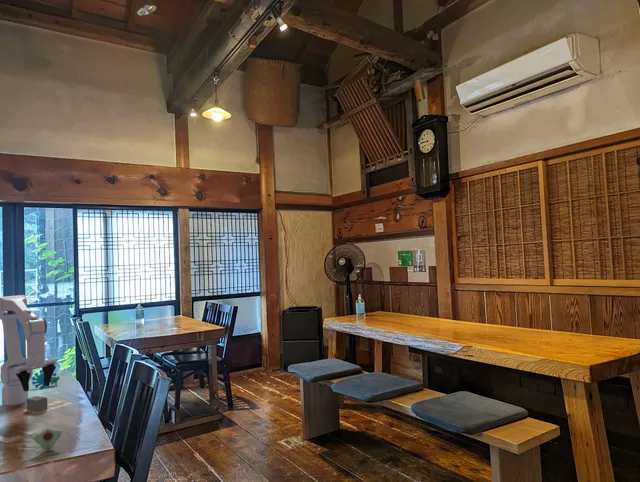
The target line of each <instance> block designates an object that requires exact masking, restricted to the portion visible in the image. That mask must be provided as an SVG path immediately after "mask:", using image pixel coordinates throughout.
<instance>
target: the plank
mask: <svg viewBox="0 0 640 482" xmlns="http://www.w3.org/2000/svg"><path fill="white" fill-rule="evenodd" d="M71 404H72V402H69V401H62V400H54V401H50V402H47V408H48V410H45V411H42V412H39V413H36V412H31V411H27V409H23V412H28V413H32V414H37V415H39V414H42V413H45V412H49V411H52V410H54V409H58V408H61V407H64V406H68V405H71Z"/></svg>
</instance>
